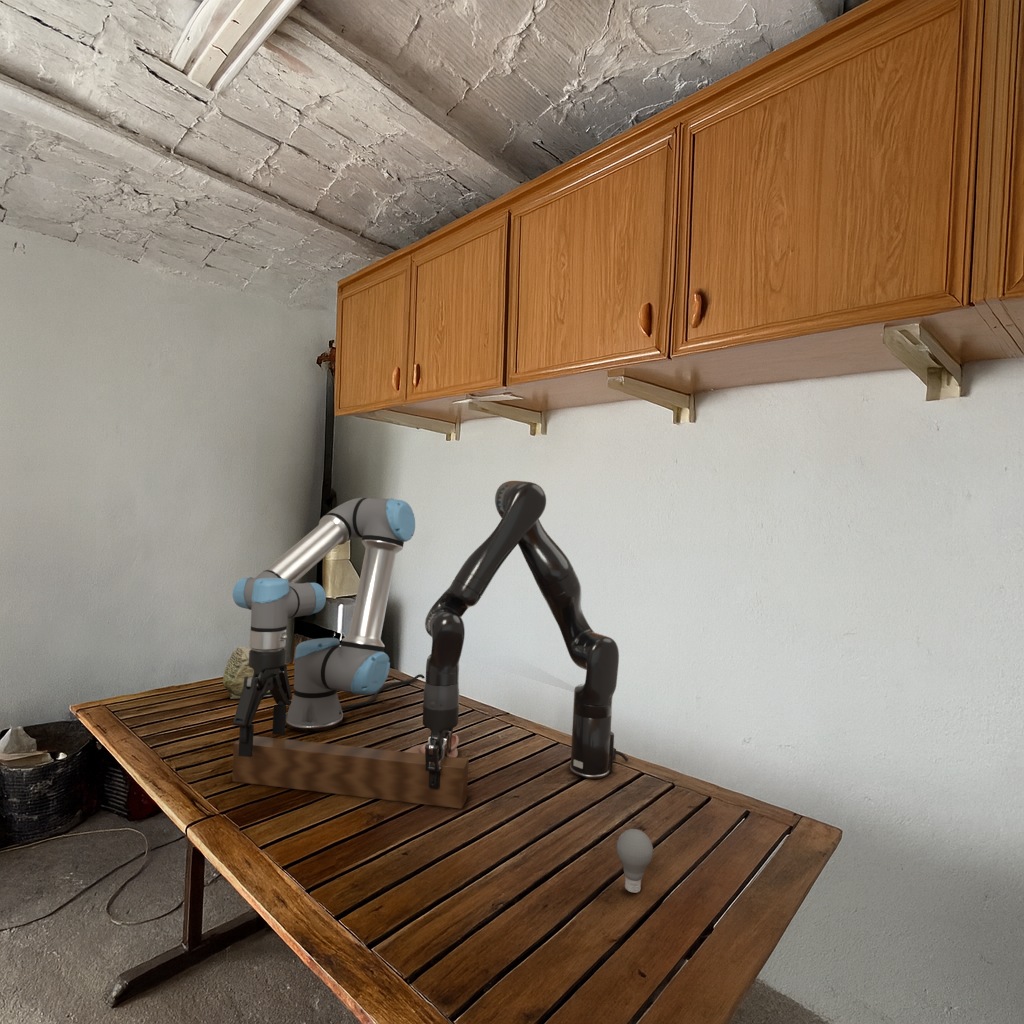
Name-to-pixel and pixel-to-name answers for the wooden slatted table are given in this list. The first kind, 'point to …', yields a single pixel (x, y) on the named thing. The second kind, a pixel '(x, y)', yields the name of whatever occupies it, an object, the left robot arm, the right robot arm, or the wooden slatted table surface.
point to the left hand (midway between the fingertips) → (262, 744)
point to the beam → (351, 771)
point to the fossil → (238, 672)
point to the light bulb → (634, 857)
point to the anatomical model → (421, 748)
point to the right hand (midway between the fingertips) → (437, 781)
